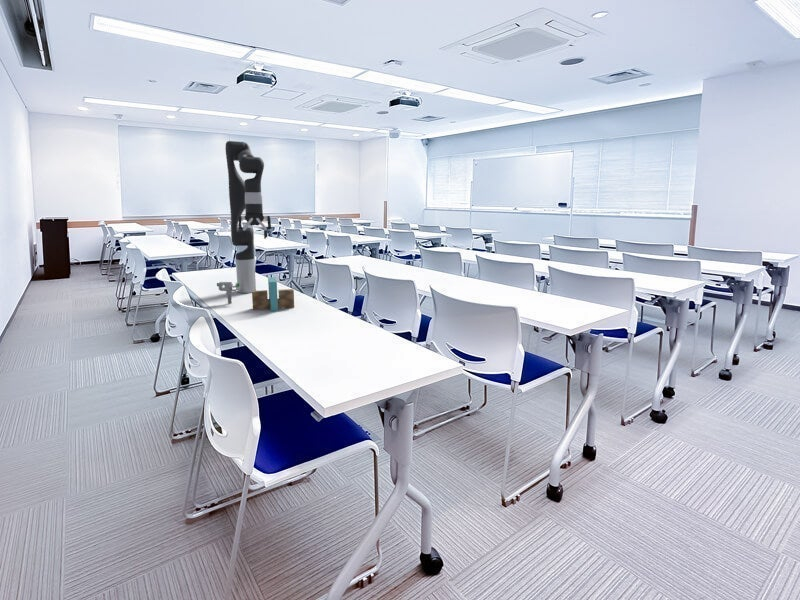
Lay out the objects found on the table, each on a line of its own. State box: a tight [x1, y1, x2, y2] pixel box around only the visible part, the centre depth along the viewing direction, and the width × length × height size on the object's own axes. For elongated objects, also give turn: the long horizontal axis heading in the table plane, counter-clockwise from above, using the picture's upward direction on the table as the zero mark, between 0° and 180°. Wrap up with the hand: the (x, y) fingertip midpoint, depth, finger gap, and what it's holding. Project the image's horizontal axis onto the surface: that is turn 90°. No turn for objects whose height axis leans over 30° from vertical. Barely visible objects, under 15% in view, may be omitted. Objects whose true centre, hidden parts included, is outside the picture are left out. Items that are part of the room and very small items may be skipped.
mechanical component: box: [216, 281, 240, 305], centre depth 221 cm, size 3×10×10 cm, turn 89°
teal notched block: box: [267, 276, 279, 312], centre depth 213 cm, size 12×3×13 cm, turn 18°
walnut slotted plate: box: [251, 288, 295, 311], centre depth 214 cm, size 18×3×8 cm, turn 108°
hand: (255, 238), depth 219 cm, fingers open, 8 cm apart
